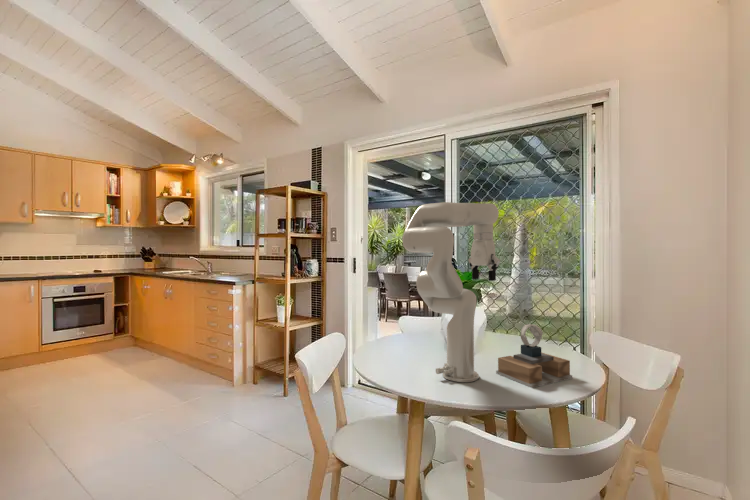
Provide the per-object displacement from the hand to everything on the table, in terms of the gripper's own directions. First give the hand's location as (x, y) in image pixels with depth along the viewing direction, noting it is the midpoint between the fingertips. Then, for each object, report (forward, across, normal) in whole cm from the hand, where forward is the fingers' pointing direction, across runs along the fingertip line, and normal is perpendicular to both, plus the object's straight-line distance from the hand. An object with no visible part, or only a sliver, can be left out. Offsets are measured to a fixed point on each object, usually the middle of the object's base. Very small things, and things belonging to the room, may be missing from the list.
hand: (483, 279), depth 151 cm
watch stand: (+33, +21, +4) cm, 40 cm away
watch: (+26, +20, +5) cm, 33 cm away
